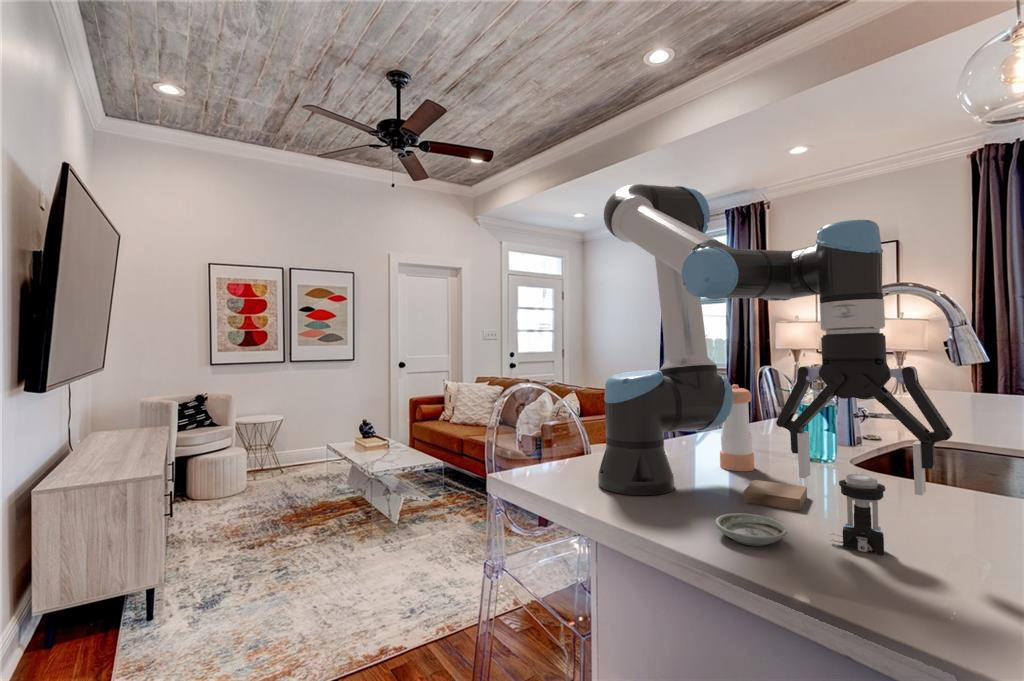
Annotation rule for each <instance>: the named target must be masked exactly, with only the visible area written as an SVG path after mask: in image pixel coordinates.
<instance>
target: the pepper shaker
mask: <svg viewBox="0 0 1024 681" xmlns="http://www.w3.org/2000/svg"><path fill="white" fill-rule="evenodd" d="M731 387H732V391H733V405H732V410H731V412H730V415H729V416H728V417H727V419H726V421H725V422H724V423H723V424H722V425H721V426H722V427H721V434H720V445H721V450H720V451H719V467H720V468H721V469H724V470H726V471H733V472H751V471H754V470H755V453H754V452H753V436H752V431H751V425H750V415H749V412H750V409H749V403H750V402H751V401H752V398H753V395H752V393H751V391H750V390H748V389H747V388H744V387H743V388H742V387H741V388H740V387H739V384H732V385H731Z"/></svg>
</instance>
